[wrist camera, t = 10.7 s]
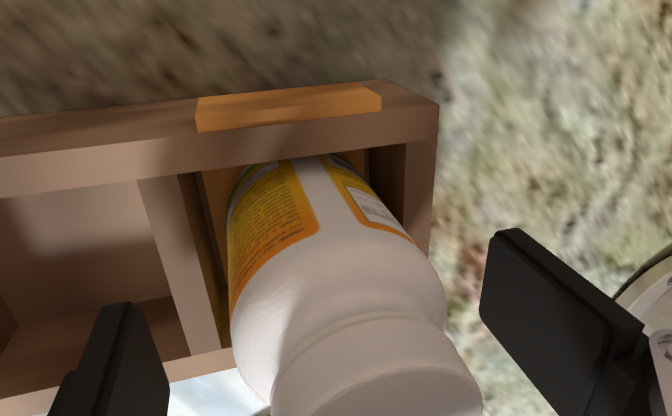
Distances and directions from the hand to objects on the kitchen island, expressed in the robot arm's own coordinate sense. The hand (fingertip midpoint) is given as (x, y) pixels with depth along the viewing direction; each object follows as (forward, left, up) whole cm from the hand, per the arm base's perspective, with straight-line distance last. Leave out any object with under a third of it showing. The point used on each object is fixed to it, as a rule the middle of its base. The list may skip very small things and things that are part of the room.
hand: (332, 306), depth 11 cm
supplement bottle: (0, 0, -6) cm, 6 cm away
